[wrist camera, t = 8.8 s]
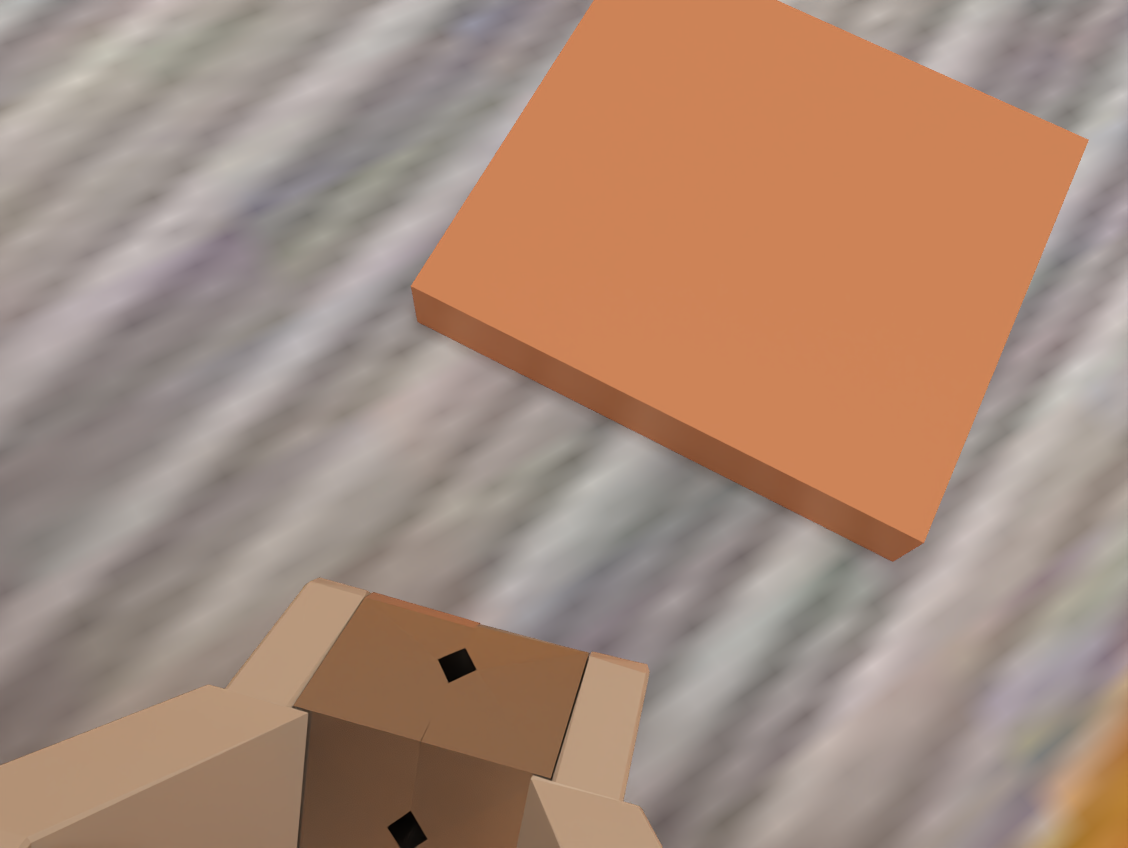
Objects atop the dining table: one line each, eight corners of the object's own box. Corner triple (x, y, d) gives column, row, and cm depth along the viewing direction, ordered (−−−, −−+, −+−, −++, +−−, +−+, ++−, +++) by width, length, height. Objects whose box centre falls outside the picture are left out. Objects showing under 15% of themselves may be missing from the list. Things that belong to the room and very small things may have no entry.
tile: (923, 542, 22) (1088, 139, 25) (411, 286, 23) (634, -64, 26) (885, 565, 24) (1042, 192, 27) (418, 330, 25) (625, 1, 29)
